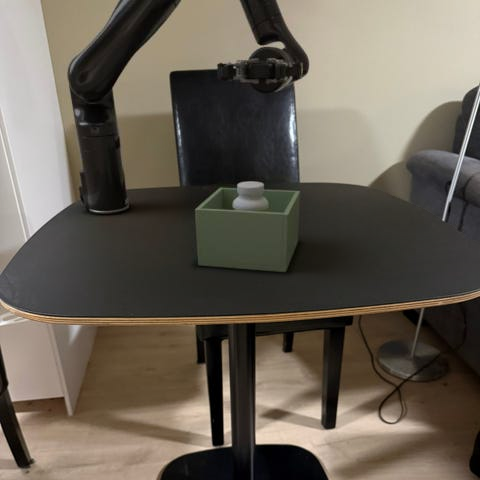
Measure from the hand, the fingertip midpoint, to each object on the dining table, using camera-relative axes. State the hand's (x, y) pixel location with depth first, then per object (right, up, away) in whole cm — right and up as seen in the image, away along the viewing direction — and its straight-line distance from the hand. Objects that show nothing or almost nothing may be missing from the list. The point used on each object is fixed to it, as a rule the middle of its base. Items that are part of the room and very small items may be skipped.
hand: (251, 72), depth 76 cm
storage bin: (0, -27, +13) cm, 30 cm away
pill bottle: (0, -26, +13) cm, 29 cm away
